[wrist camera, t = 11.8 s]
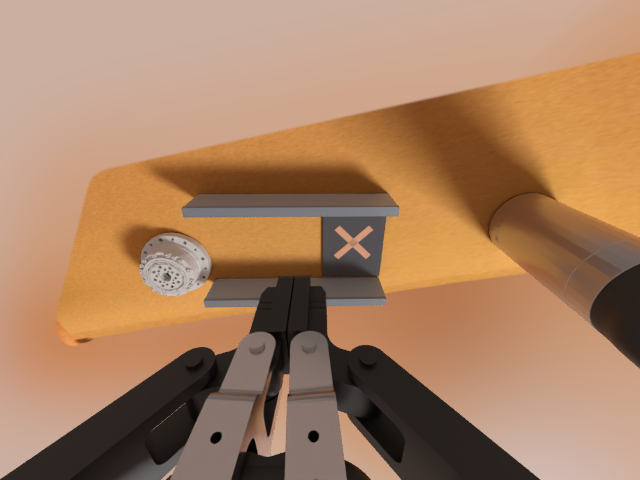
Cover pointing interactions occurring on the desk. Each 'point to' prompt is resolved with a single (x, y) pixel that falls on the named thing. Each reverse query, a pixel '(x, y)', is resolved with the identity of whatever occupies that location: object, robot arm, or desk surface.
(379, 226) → the pad
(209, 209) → the plastic channel
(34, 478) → the robot arm
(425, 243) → the desk surface
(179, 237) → the mechanical component
